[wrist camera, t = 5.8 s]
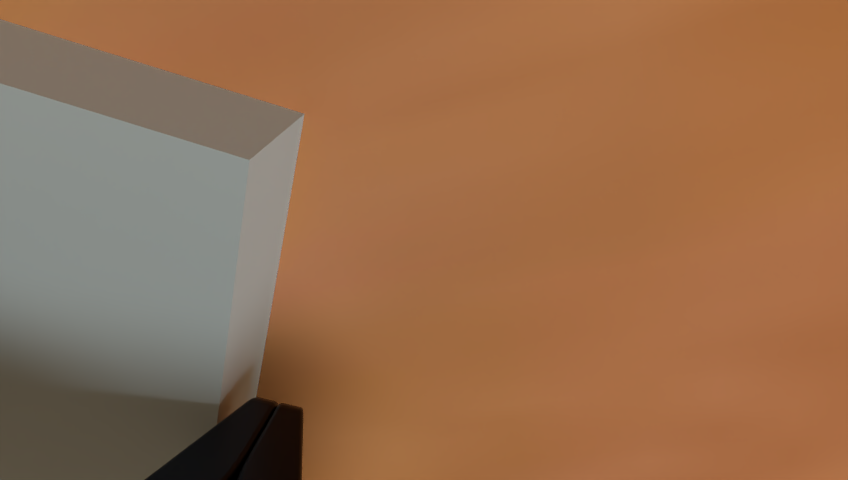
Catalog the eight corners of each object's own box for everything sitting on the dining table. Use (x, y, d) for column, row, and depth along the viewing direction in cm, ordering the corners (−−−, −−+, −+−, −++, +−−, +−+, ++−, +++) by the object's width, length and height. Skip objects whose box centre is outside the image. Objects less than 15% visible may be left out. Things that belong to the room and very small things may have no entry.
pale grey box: (252, 445, 12) (201, 549, 10) (-8, 369, 12) (-114, 457, 10) (312, 106, 8) (249, 160, 6) (-68, -12, 8) (-263, 2, 6)
